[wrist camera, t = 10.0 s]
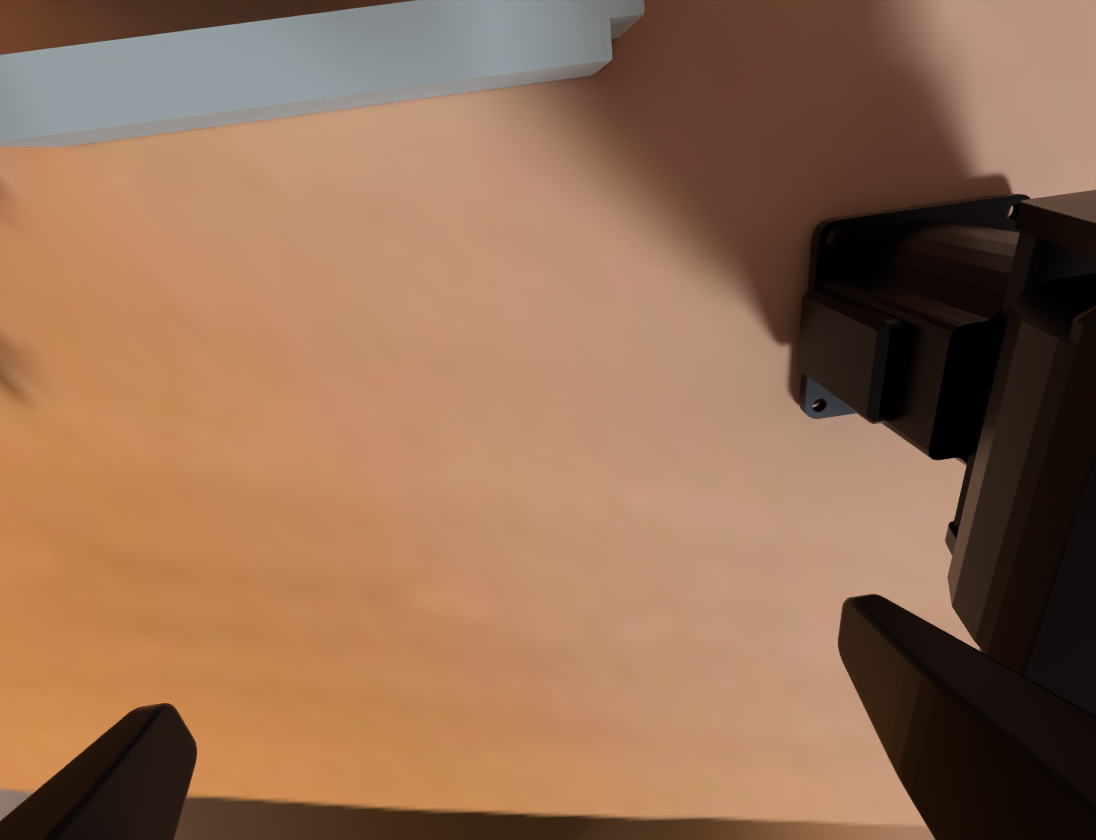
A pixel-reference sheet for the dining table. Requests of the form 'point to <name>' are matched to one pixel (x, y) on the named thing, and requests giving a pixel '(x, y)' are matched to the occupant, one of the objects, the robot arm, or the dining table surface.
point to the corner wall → (300, 66)
